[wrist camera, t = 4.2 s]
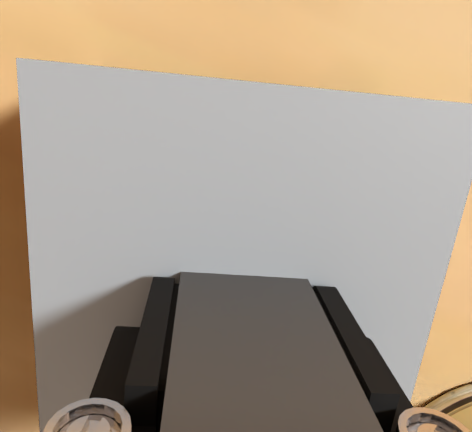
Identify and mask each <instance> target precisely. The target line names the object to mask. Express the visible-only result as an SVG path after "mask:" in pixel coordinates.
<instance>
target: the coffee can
mask: <svg viewBox="0 0 472 432" xmlns="http://www.w3.org/2000/svg"><path fill="white" fill-rule="evenodd" d="M425 408H430V409H434V410H437V411H440V412H442V413H445V414H447V415H449V416H451V417H452V418H454V419H456V420H457V421H459V422H460V423H461V424H463V425H464V426H465V427H466V428H467V429H468V430H470V431H471V432H472V384H468V385H465V386H462V387H459V388H456V389H454V390H451V391H448V392H447V393H446V394H444V395H442V396H440V397H439V398H437V399H435V400H434V401H432V402H430V403H429V404H427V405H426V406H425Z"/></svg>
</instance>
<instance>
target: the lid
mask: <svg viewBox="0 0 472 432" xmlns="http://www.w3.org/2000/svg"><path fill="white" fill-rule="evenodd" d="M16 64H17V79H18V95H19V111H20V127H21V143H22V158H23V174H24V190H25V206H26V221H27V237H28V253H29V269H30V285H31V300H32V316H33V332H34V348H35V364H36V379H37V395H38V411H39V427H40V432H43V430H44V428H45V426H46V424H47V422H48V421H49V420H50V419H51V418H52V417H53V415H54V414H55V413H56V412H57V411H59V410H61V409H62V408H64V407H65V406H67V405H68V404H71V403H74V402H76V401H79V400H82V399H89V397H90V394H91V391H92V389H93V386H94V383H95V380H96V378H97V375H98V372H99V369H100V367H101V364H102V361H103V358H104V356H105V353H106V350H107V347H108V345H109V342H110V339H111V336H112V333H113V331H114V329H115V327H116V326H129V327H140V325H141V321H142V318H143V314H144V310H145V306H146V302H147V299H148V295H149V291H150V287H151V283H152V280H153V277H169V278H175V283H177V284H179V290H178V297H177V305H176V313H175V320H174V328H173V336H172V343H171V351H170V359H169V366H168V374H167V381H166V389H165V397H164V404H163V412H162V420H161V427H160V432H383V430H382V428H381V426H380V424H379V422H378V420H377V418H376V416H375V414H374V411H373V409H372V407H371V405H370V403H369V401H368V399H367V397H366V395H365V393H364V391H363V389H362V387H361V385H360V383H359V381H358V379H357V377H356V375H355V373H354V371H353V369H352V367H351V365H350V363H349V361H348V359H347V357H346V355H345V353H344V351H343V349H342V347H341V345H340V343H339V341H338V339H337V337H336V335H335V333H334V331H333V329H332V327H331V325H330V323H329V321H328V319H327V317H326V315H325V313H324V311H323V309H322V307H321V305H320V303H319V301H318V299H317V297H316V295H315V292H314V290H313V286H330V287H336V288H337V290H338V291H339V293H340V295H341V296H342V298H343V300H344V301H345V303H346V305H347V306H348V308H349V310H350V311H351V313H352V315H353V316H354V318H355V320H356V321H357V323H358V324H359V326H360V328H361V329H362V331H363V333H364V334H365V336H366V337H368V338H370V339H371V340H372V341H373V343H374V345H375V346H376V348H377V349H378V351H379V353H380V354H381V356H382V357H383V359H384V361H385V362H386V364H387V366H388V367H389V369H390V370H391V372H392V374H393V375H394V377H395V378H396V380H397V382H398V383H399V385H400V387H401V388H402V390H403V391H404V393H405V395H406V396H407V398H408V399H409V401H410V400H411V397H412V393H413V390H414V386H415V383H416V379H417V375H418V372H419V368H420V365H421V361H422V357H423V354H424V350H425V347H426V343H427V340H428V336H429V332H430V329H431V325H432V322H433V318H434V314H435V311H436V307H437V304H438V300H439V296H440V293H441V289H442V286H443V282H444V279H445V275H446V271H447V268H448V264H449V261H450V257H451V253H452V250H453V246H454V243H455V239H456V236H457V232H458V228H459V225H460V221H461V218H462V214H463V210H464V207H465V203H466V200H467V196H468V193H469V189H470V185H471V182H472V104H470V103H460V102H450V101H440V100H430V99H420V98H410V97H401V96H391V95H381V94H371V93H361V92H351V91H341V90H331V89H321V88H311V87H302V86H292V85H282V84H272V83H262V82H252V81H242V80H232V79H222V78H212V77H203V76H193V75H183V74H173V73H163V72H153V71H143V70H133V69H123V68H114V67H104V66H94V65H84V64H74V63H64V62H54V61H44V60H34V59H23V58H16Z"/></svg>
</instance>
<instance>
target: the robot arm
mask: <svg viewBox="0 0 472 432" xmlns="http://www.w3.org/2000/svg"><path fill="white" fill-rule="evenodd" d="M178 290H179V284H177V283H175V278H169V277H153V280H152V283H151V287H150V291H149V295H148V299H147V302H146V306H145V310H144V314H143V318H142V321H141V325H140V327H129V326H116V327H115V329H114V331H113V333H112V336H111V339H110V342H109V345H108V347H107V350H106V353H105V356H104V358H103V361H102V364H101V367H100V369H99V372H98V375H97V378H96V380H95V383H94V386H93V389H92V391H91V394H90V397H89V399H82V400H79V401H76V402H74V403H71V404H68V405H67V406H65V407H64V408H62V409H61V410H59V411H57V412H56V413H55V414H54V415H53V417H52V418H51V419H50V420H49V421H48V422H47V424H46V426H45V428H44V430H43V432H160V427H161V420H162V412H163V404H164V397H165V389H166V381H167V374H168V366H169V359H170V351H171V343H172V336H173V328H174V320H175V313H176V305H177V297H178ZM313 290H314V292H315V295H316V297H317V299H318V301H319V303H320V305H321V307H322V309H323V311H324V313H325V315H326V317H327V319H328V321H329V323H330V325H331V327H332V329H333V331H334V333H335V335H336V337H337V339H338V341H339V343H340V345H341V347H342V349H343V351H344V353H345V355H346V357H347V359H348V361H349V363H350V365H351V367H352V369H353V371H354V373H355V375H356V377H357V379H358V381H359V383H360V385H361V387H362V389H363V391H364V393H365V395H366V397H367V399H368V401H369V403H370V405H371V407H372V409H373V411H374V414H375V416H376V418H377V420H378V422H379V424H380V426H381V428H382V430H383V432H471V431H470V430H468V429H467V428H466V427H465V426H464V425H463V424H461V423H460V422H459V421H457V420H456V419H454V418H452V417H451V416H449V415H447V414H445V413H442V412H440V411H437V410H434V409H430V408H425V407H413V406H412V404H411V403H410V401H409V399H408V398H407V396H406V395H405V393H404V391H403V390H402V388H401V387H400V385H399V383H398V382H397V380H396V378H395V377H394V375H393V374H392V372H391V370H390V369H389V367H388V366H387V364H386V362H385V361H384V359H383V357H382V356H381V354H380V353H379V351H378V349H377V348H376V346H375V345H374V343H373V341H372V340H371V339H370V338H368V337H366V336H365V334H364V333H363V331H362V329H361V328H360V326H359V324H358V323H357V321H356V320H355V318H354V316H353V315H352V313H351V311H350V310H349V308H348V306H347V305H346V303H345V301H344V300H343V298H342V296H341V295H340V293H339V291H338V290H337V288H336V287H330V286H313Z"/></svg>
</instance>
